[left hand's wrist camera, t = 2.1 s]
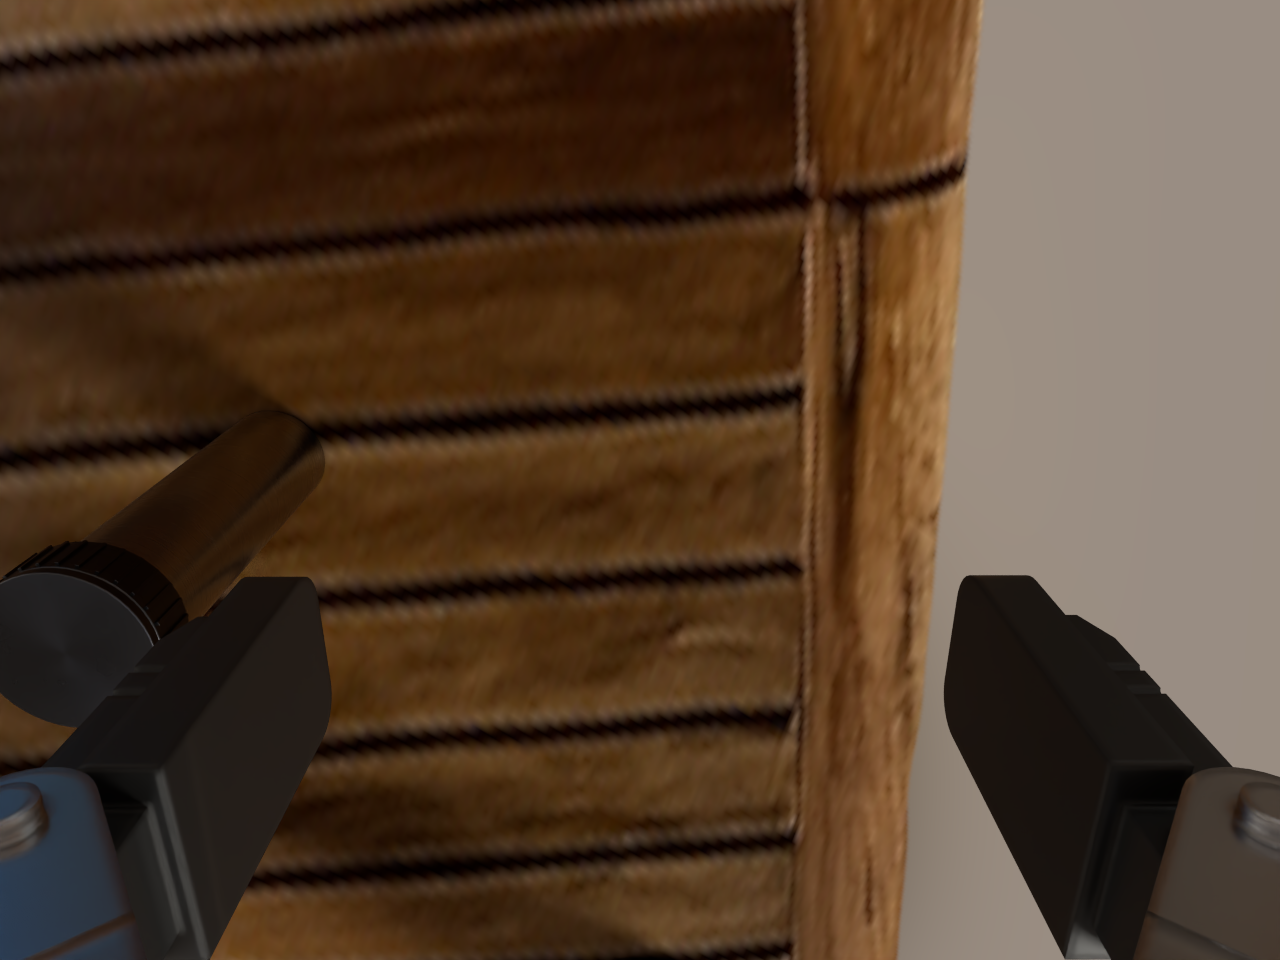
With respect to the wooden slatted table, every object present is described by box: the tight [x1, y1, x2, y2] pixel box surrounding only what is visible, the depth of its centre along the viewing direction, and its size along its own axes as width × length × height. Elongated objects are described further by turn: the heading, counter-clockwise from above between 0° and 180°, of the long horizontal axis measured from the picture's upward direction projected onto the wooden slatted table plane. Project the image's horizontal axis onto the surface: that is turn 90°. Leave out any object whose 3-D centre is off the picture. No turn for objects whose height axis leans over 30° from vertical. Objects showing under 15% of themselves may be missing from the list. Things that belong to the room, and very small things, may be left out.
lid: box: [0, 540, 189, 728], centre depth 27 cm, size 6×6×2 cm
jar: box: [80, 411, 325, 622], centre depth 34 cm, size 4×4×16 cm
